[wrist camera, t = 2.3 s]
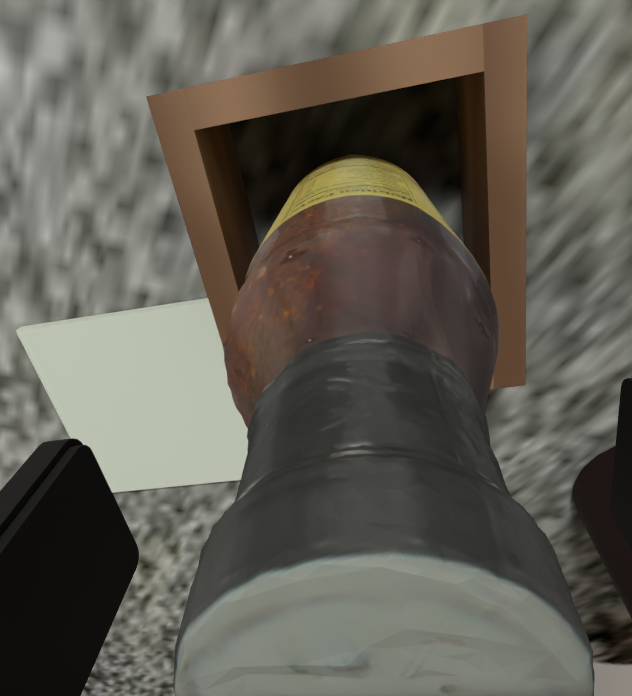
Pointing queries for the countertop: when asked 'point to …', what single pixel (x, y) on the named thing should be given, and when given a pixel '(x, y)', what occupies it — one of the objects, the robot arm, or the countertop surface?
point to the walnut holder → (349, 82)
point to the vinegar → (605, 522)
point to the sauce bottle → (372, 472)
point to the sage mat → (144, 393)
